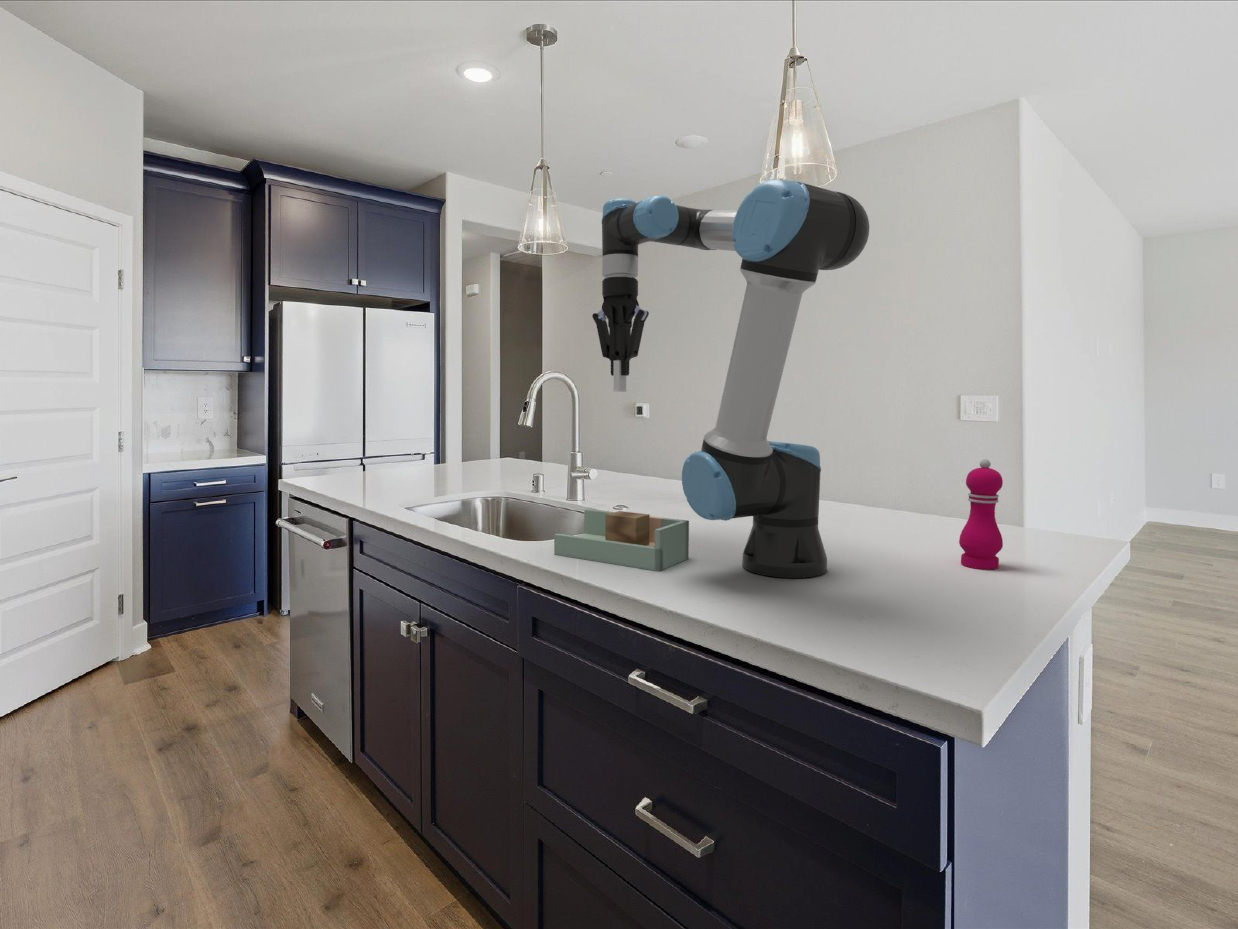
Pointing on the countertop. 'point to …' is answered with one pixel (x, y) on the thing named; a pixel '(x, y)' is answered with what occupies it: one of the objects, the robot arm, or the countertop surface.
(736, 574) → the countertop surface
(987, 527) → the pepper mill
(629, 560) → the green open tray
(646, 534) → the block
